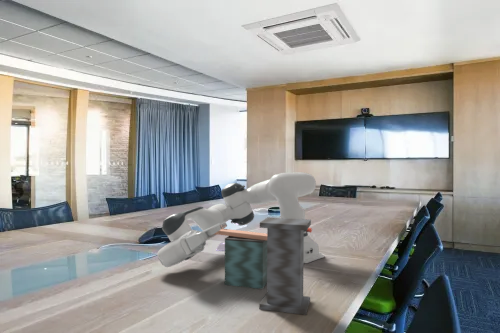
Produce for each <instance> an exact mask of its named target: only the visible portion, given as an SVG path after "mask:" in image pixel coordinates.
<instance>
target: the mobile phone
mask: <svg viewBox="0 0 500 333" xmlns="http://www.w3.org/2000/svg"><path fill="white" fill-rule="evenodd" d="M215 251H217V252H225V242H220V243H219V244H218V246H217V247H216V249H215Z"/></svg>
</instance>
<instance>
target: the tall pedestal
mask: <svg viewBox="0 0 500 333" xmlns="http://www.w3.org/2000/svg"><path fill="white" fill-rule="evenodd" d="M311 224H312V220H311V219H306V218H305V219H289V218H280V217H270V216H269V217H265V219H263V220H262V221H260V222H259V228H260V229H266V230H267V231H266V232H267V233H266V234H267V283H266V293H265V294H264V296H263V298H262V299H261V300H260V302H259V306H258V308H259V310H265V311H272V312H280V313H287V314H296V315H303V316H304V315H305V316H307V315H308V314H307V313H308V310H309V307H310V304H311V296H306V295H304V265H305V263H304V230H305V231H307V230H308V228H310V226H311Z"/></svg>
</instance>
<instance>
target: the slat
mask: <svg viewBox="0 0 500 333" xmlns="http://www.w3.org/2000/svg"><path fill="white" fill-rule="evenodd" d="M215 234H217V235H216V236H226V237H228V236H233V237H242V238H250V239H258V240H266V241H267V233H265V232H257V231H255V232H254V231H247V230H238V229H230V228H229V229H228V228H224V229H221V230H220V231H218V232H216V233H215Z"/></svg>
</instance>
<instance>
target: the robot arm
mask: <svg viewBox="0 0 500 333" xmlns="http://www.w3.org/2000/svg"><path fill="white" fill-rule="evenodd" d="M316 186H317V182H316V178H315V177H314V176H313V175H312V174H310V173H307V172H302V171H298V172H294V171H293V172H280V173H276V174H274V175H272V176H271V177H270V179H266V180H262V181H261V182H258V183H255V184H252V185H251V186H249V187H248V188H245V187H246V186H245V184H243V185H242V184H240V183H238V182H231V183H228V184H226V185H225V186H224V187H222V189H221V191H220V193H221V197H222V199H223V201H224V203H225V204H224V203H216V204H214V205H211V206H210V207H208V208H205V207H203V206H197V207H194V208H191V209H187V210H185V211H181V212H178V213H173V214H171V215H169V216H167V217H166V218H165V219H163V222H162V225H161V230H162V232H164V234H165V235H166V236H167V238H168V239H169V241H170V242H168V243H167V244H165V245H164V246H163V247H161V248H160V249H159V250H158V251H157V257H158V260H159V262H160V263H161V265H162V266H163V267H165V268H170V267H173V266H176V265H178V264H180V263H182V262H185V261H187V260H189V259H191V258H193V257H194V256H195V255H197V254H199V253H200V252H203V251H204V250H205V246H206V244H207V241H208V240H210V239H212V238H214V237H216V236H218V235H217V234H215V233H216V232H218V231H220V230H221V229H226V228H228V224H227V222H229V221H230V223H231V224H233V225H235V226H241V227H242V226H246V225H249V224H250V223H251V222H252V221H254V219H255V213H254V210H253V209H252V206H251V205H253V206H260V205H266V204H271V203H275V202H277V203H278V207H279V212H280V213H279V214H280V215H279V216H280V217H279V218H289V219H306V211H305V208H304V207H302V206H301V204H300V202H299V198H300V197H304V196H307V195H310V194H312V193H314V191H315V190H316ZM189 220H191V221H192V222H194V223H195V224H196V225H197V227H199V229H200V230H196V229H192V228H191V226H190V224H189V223H188V221H189ZM201 230H202V231H201ZM312 231H313V229H312V228H311V227H309V228H308V230H307V231H305V230H304V264H309V263H311V262H314V261H317V260H319V259H323V258H325V254H324V253H322V252H320V250H319V249H320V247H319V243H318V242H317V241H315V240H314V239H313V238H312V237H311V236H310V235H309V233H312Z"/></svg>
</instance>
